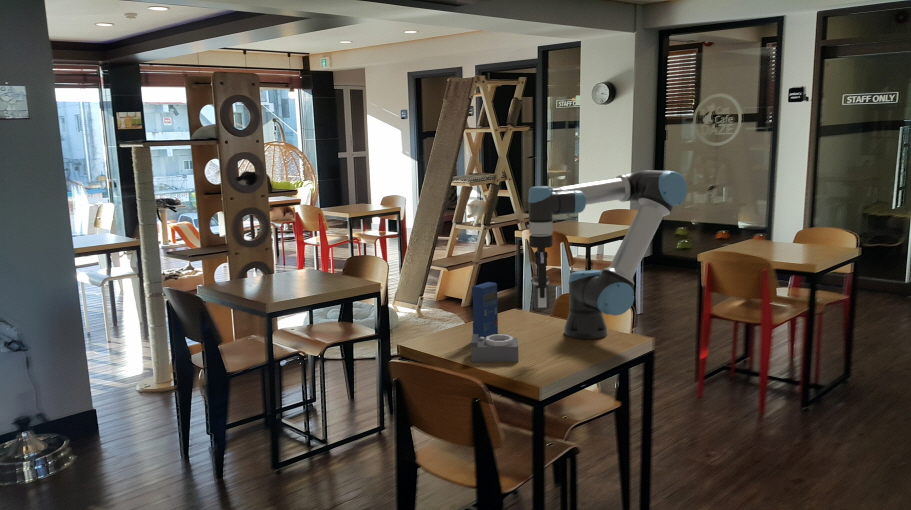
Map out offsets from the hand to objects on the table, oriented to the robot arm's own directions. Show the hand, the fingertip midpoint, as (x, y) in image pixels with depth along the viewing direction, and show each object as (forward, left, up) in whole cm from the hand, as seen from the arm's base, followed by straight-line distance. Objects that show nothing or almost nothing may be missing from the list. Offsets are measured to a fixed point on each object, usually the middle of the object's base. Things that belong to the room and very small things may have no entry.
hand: (541, 304), depth 231 cm
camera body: (+16, +3, -17) cm, 23 cm away
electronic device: (+19, -18, -17) cm, 31 cm away
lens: (0, 0, -1) cm, 1 cm away
